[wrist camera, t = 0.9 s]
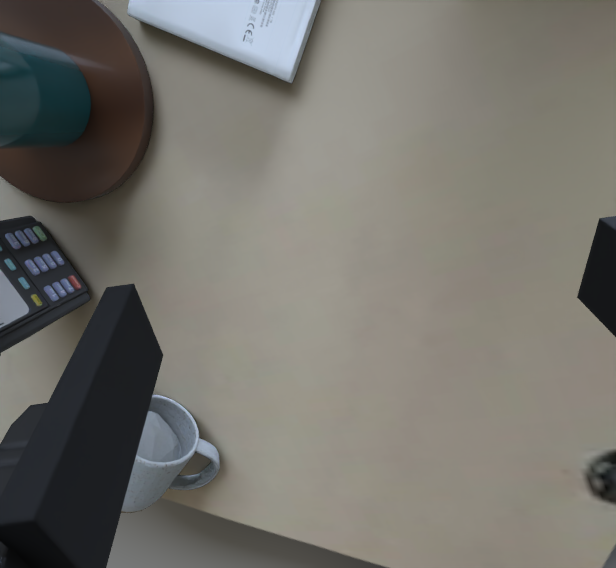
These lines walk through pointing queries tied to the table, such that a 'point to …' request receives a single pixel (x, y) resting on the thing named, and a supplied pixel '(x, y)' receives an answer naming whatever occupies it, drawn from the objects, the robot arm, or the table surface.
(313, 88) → the table surface
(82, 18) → the plate
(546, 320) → the table surface
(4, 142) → the tumbler
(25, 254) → the card reader
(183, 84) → the table surface
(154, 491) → the ceramic mug
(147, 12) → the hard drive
